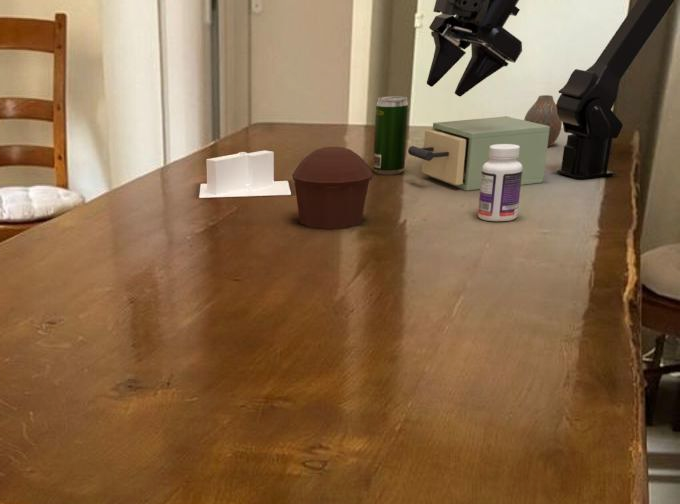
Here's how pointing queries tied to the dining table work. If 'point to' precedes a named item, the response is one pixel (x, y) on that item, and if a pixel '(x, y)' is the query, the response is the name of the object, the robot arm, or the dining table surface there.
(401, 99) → the beer can
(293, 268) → the dining table surface
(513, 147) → the pill bottle
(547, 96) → the vase
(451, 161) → the drawer
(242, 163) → the napkin holder
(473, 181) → the cabinet
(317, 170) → the muffin
